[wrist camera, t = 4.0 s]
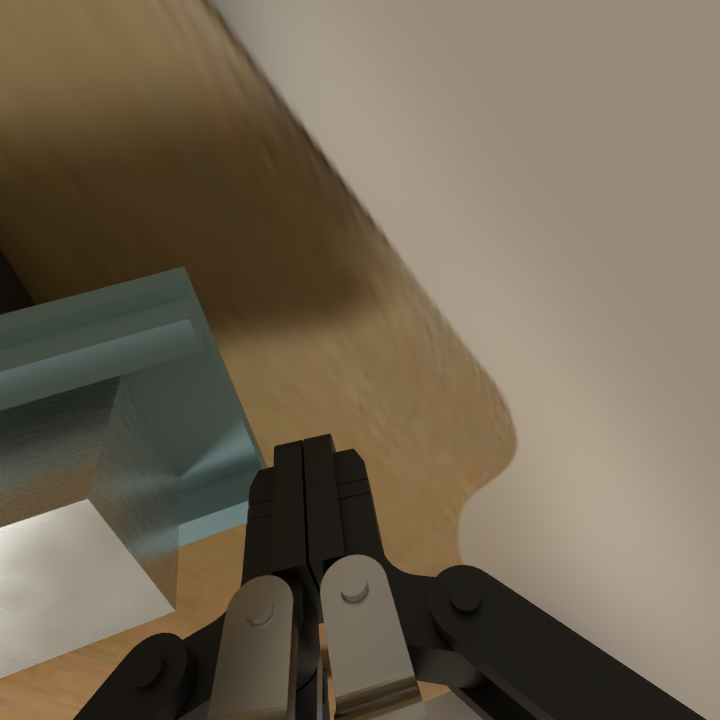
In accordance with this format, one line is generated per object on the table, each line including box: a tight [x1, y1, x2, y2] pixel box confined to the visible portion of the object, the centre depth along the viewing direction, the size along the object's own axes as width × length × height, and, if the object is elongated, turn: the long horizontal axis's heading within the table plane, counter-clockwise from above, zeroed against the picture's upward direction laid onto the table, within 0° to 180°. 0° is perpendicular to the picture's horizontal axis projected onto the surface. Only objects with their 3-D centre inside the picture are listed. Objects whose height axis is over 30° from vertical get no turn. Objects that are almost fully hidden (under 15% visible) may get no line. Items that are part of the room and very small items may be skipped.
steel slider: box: [0, 374, 182, 678], centre depth 12 cm, size 5×6×5 cm
